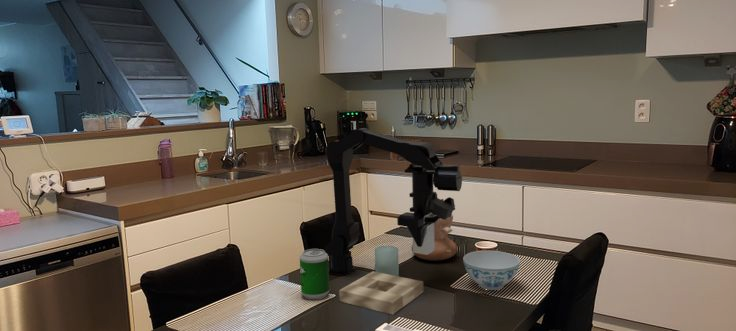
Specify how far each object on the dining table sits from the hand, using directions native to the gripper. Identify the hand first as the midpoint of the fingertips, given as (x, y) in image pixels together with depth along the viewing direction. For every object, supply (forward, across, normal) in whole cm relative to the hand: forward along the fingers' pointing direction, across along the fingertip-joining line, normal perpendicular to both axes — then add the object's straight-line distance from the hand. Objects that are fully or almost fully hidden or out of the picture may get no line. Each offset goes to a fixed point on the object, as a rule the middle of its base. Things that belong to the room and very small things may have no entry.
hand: (423, 244), depth 145 cm
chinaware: (+12, +7, -17) cm, 22 cm away
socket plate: (+11, -14, +5) cm, 19 cm away
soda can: (+11, -22, +21) cm, 33 cm away
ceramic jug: (+12, +22, +8) cm, 26 cm away
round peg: (+11, 0, +12) cm, 17 cm away
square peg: (+2, 0, 0) cm, 2 cm away
